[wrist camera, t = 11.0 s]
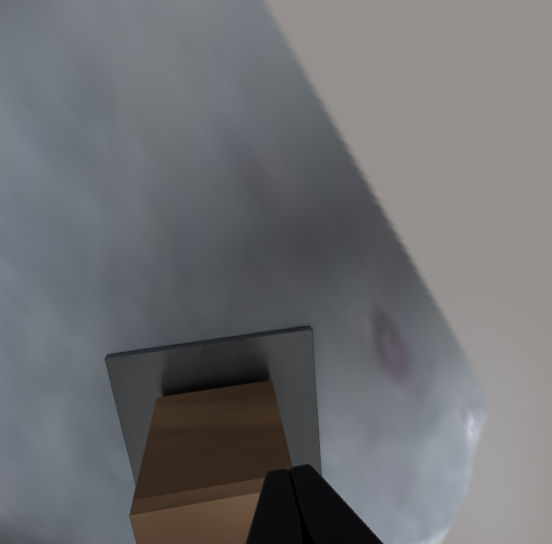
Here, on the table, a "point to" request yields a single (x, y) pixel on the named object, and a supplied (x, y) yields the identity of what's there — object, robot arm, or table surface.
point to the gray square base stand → (221, 383)
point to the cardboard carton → (207, 465)
